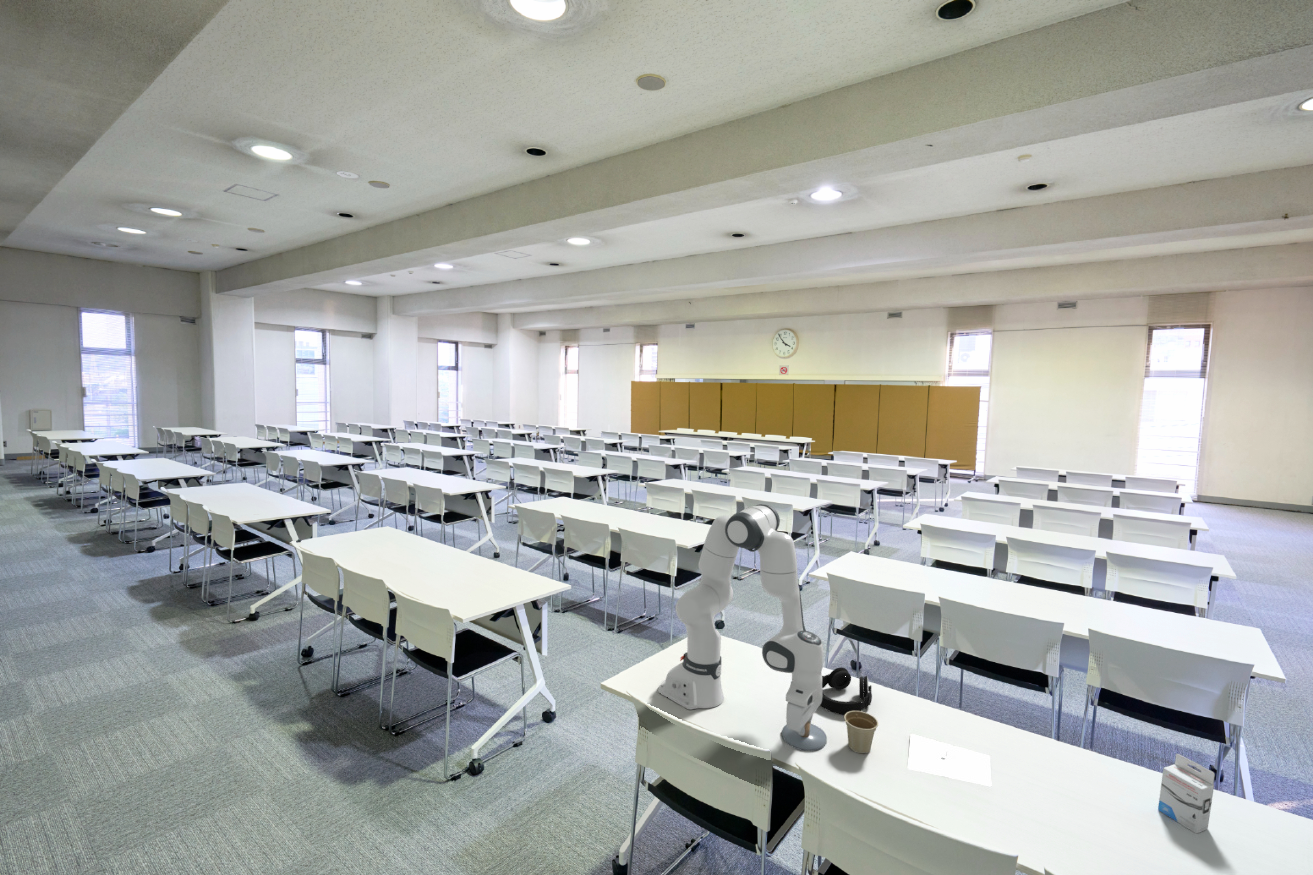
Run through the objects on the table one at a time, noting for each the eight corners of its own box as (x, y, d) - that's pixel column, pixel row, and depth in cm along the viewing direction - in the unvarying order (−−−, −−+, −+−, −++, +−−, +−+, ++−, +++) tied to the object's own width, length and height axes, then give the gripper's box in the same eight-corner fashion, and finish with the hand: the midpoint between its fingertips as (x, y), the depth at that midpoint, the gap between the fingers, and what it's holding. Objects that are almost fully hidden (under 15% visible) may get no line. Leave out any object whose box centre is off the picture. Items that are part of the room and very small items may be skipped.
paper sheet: (999, 761, 170) (999, 758, 170) (992, 828, 146) (992, 824, 146) (911, 732, 183) (911, 729, 183) (891, 790, 159) (891, 786, 159)
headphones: (881, 675, 201) (857, 705, 187) (881, 696, 203) (857, 728, 188) (831, 658, 213) (805, 685, 198) (832, 678, 214) (805, 707, 200)
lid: (775, 739, 178) (775, 725, 178) (792, 719, 189) (792, 706, 188) (817, 756, 171) (818, 741, 170) (832, 734, 181) (833, 720, 181)
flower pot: (878, 759, 170) (880, 731, 169) (844, 754, 172) (846, 726, 171) (873, 740, 179) (875, 712, 178) (841, 735, 181) (842, 708, 180)
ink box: (1156, 809, 152) (1163, 755, 150) (1168, 805, 154) (1175, 751, 152) (1196, 834, 144) (1203, 777, 142) (1209, 829, 146) (1216, 772, 144)
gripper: (809, 669, 188) (806, 711, 190) (783, 697, 171) (781, 743, 173) (828, 675, 185) (826, 717, 186) (804, 705, 168) (802, 751, 169)
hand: (804, 730), depth 179 cm, fingers closed on lid, 3 cm apart
